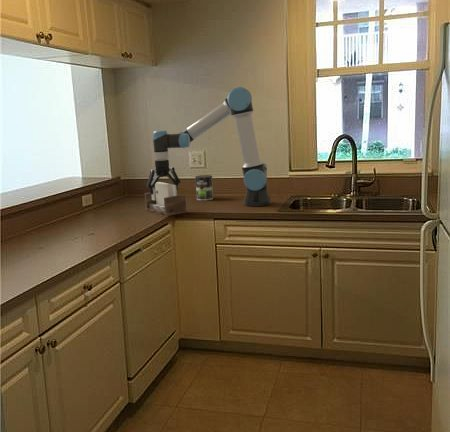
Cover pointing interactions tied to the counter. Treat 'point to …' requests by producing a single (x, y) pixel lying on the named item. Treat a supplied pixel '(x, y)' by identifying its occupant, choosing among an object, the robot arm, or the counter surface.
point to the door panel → (163, 192)
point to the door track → (166, 205)
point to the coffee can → (204, 187)
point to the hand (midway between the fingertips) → (164, 198)
